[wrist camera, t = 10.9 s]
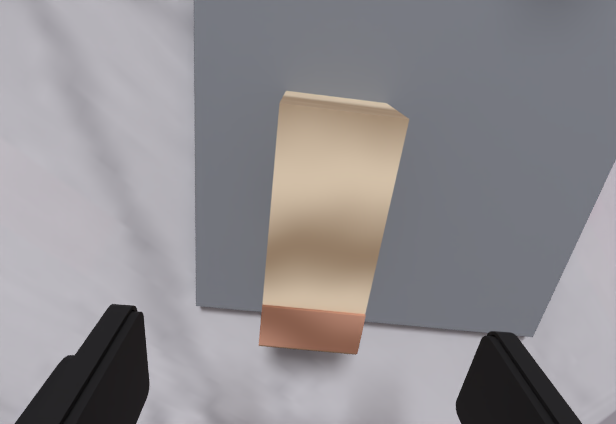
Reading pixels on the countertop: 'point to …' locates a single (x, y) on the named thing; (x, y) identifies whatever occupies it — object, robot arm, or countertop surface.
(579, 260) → the countertop surface
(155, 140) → the countertop surface
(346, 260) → the beige brown block
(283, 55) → the slate mat
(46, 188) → the countertop surface
